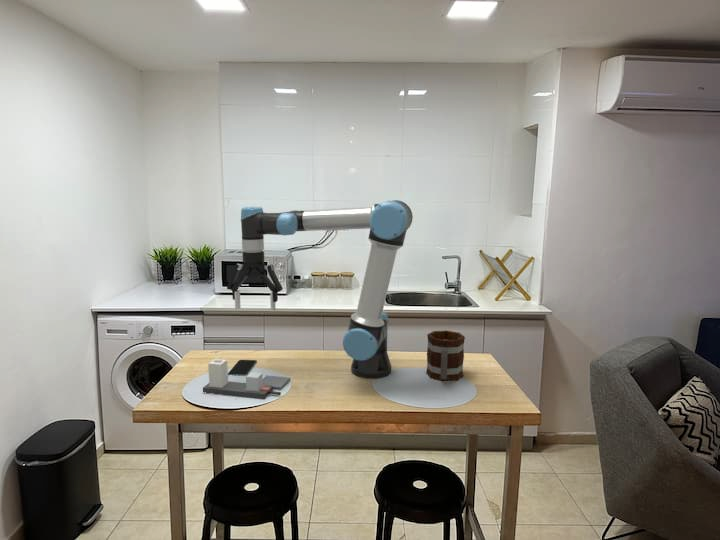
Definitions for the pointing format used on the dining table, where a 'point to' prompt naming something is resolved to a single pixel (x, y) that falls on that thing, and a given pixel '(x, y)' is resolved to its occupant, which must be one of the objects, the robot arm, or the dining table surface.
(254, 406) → the dining table surface
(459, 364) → the mug
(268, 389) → the power strip
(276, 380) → the coaster
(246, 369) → the smartphone
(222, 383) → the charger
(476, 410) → the dining table surface
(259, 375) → the cube
